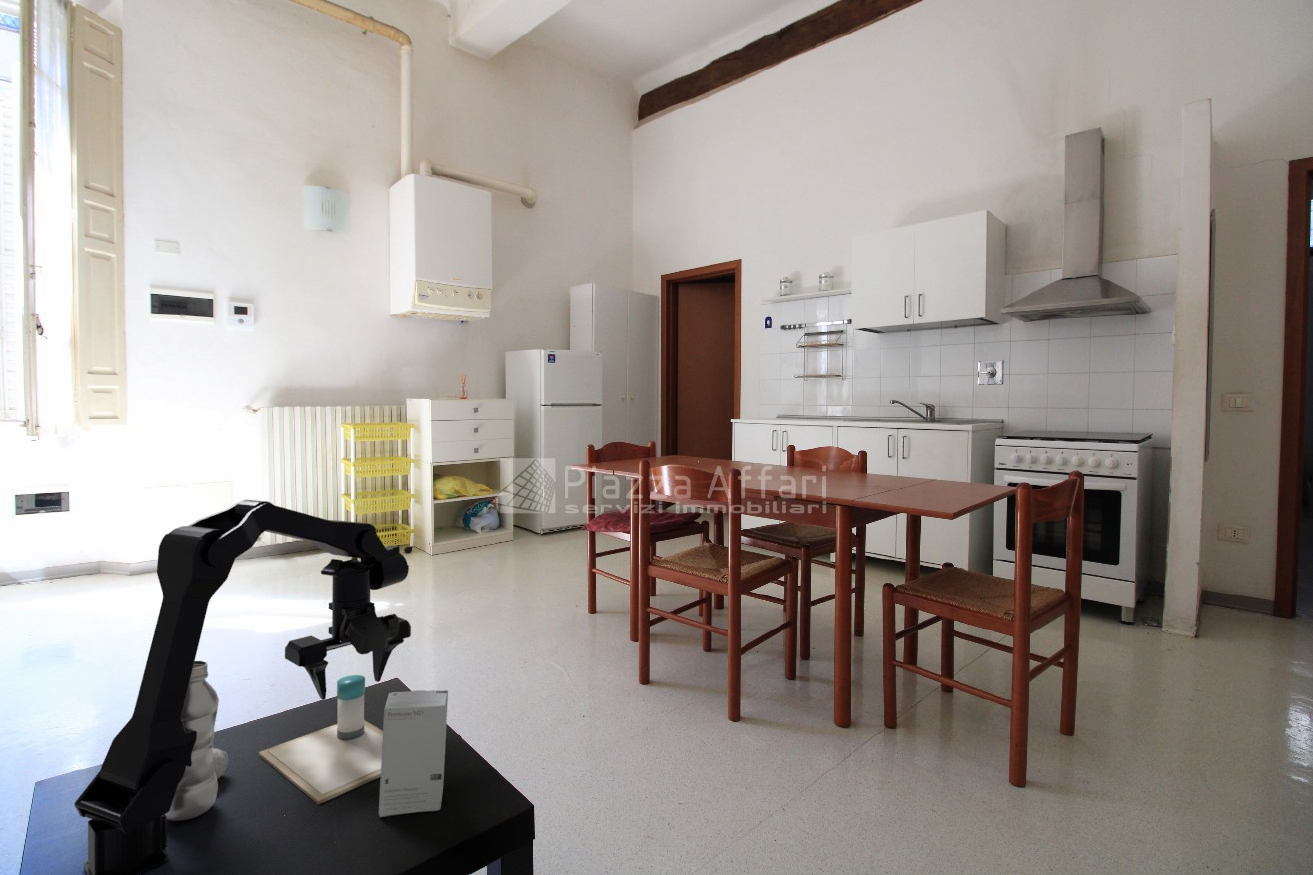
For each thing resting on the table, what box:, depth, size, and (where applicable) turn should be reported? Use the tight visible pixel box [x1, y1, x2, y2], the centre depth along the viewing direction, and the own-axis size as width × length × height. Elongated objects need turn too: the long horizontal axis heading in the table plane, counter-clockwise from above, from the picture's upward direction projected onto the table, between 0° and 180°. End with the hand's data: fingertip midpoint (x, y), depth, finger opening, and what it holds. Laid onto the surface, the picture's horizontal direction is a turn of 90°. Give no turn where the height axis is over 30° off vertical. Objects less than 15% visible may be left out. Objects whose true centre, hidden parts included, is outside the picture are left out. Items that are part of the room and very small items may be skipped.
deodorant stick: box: [336, 674, 366, 740], centre depth 108 cm, size 4×4×9 cm
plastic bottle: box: [165, 659, 220, 822], centre depth 87 cm, size 6×7×20 cm
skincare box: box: [378, 689, 449, 818], centre depth 90 cm, size 8×6×15 cm
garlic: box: [213, 747, 229, 780], centre depth 94 cm, size 6×5×5 cm
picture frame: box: [258, 719, 383, 805], centre depth 102 cm, size 16×20×1 cm
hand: (351, 689), depth 108 cm, fingers open, 9 cm apart
